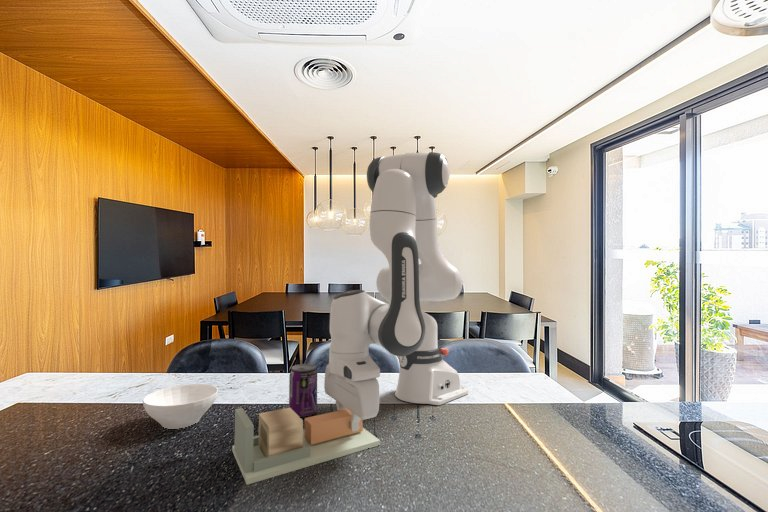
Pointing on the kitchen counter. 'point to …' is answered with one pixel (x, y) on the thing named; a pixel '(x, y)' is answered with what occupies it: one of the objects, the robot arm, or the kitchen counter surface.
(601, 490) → the kitchen counter surface
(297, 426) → the block
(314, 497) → the kitchen counter surface
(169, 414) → the bowl
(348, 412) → the rectangular bar
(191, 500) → the kitchen counter surface
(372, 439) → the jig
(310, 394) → the beverage can
